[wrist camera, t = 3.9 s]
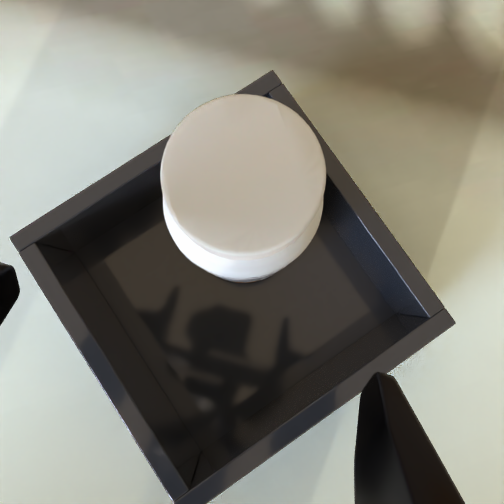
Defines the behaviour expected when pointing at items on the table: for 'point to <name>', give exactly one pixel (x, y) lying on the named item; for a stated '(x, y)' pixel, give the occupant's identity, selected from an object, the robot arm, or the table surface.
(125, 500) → the table surface
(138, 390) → the tray
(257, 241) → the pill bottle
